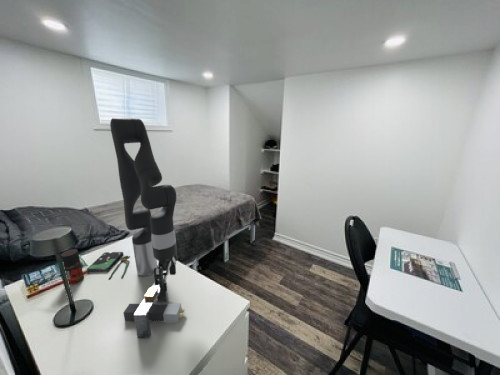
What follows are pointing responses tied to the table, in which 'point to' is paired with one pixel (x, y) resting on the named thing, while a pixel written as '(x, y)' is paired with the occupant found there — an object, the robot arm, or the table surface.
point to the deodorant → (72, 266)
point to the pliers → (120, 264)
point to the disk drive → (105, 262)
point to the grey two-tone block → (157, 312)
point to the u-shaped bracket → (147, 310)
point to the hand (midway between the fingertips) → (168, 282)
